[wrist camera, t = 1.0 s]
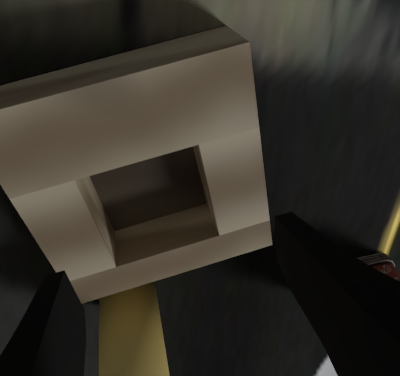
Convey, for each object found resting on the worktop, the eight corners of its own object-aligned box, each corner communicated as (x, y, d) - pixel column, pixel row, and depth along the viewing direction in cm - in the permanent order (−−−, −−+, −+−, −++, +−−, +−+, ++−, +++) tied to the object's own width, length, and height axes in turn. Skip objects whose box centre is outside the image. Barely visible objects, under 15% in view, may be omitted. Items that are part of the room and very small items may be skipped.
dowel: (161, 299, 28) (179, 407, 22) (110, 315, 28) (113, 430, 22) (147, 264, 26) (162, 373, 20) (90, 281, 26) (87, 398, 19)
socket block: (253, 210, 25) (272, 244, 23) (79, 262, 25) (76, 305, 22) (226, 25, 18) (249, 41, 15) (-18, 90, 18) (-41, 120, 15)
